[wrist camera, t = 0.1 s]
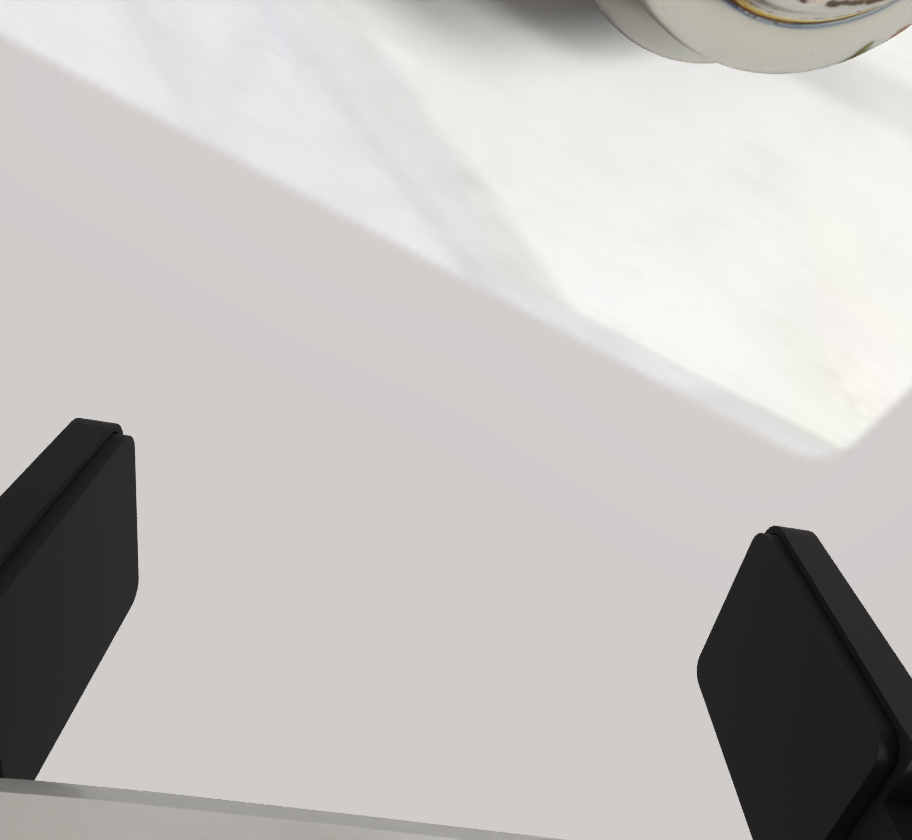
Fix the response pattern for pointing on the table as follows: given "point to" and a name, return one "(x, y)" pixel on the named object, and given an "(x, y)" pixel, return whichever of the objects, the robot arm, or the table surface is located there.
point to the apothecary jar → (759, 30)
